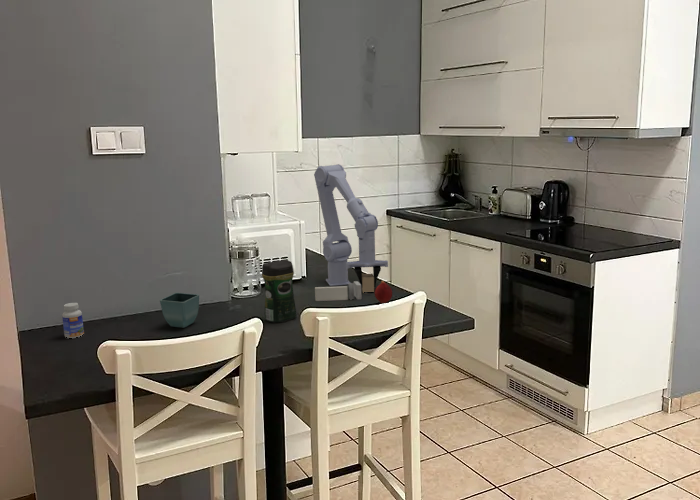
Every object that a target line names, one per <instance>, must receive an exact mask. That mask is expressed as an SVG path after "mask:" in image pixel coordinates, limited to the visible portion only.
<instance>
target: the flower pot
mask: <svg viewBox="0 0 700 500" xmlns="http://www.w3.org/2000/svg"><path fill="white" fill-rule="evenodd" d="M159 303H160V306H161V312H162V315H163V318H164V319H165V321H166V323H167V324H168V325H169V326H170V327H175V328H183V329H185V328H187V327H189V326H190V325H192V324H194V323H195V320H196V319H197V317H198V315H199V308H200V294H197V293H196V294H195V293H187V292H186V293H184V292H174V293H172V294H170V295H168V296H166V297H163V298H161V299H160V300H159Z"/></svg>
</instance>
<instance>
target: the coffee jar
mask: <svg viewBox="0 0 700 500" xmlns="http://www.w3.org/2000/svg"><path fill="white" fill-rule="evenodd" d="M294 274H295V272H294V265H293V263H292V261H290V260H287V259H281V260H274V261H269V262H265V263H263V264H262V266H261V277H262V279H263V282H264V319H265V320H266V321H267V322H269V323H284V322H287V321H290V320H293V319H296V318H297V308H296V301H295V295H294V289H293V278H294Z"/></svg>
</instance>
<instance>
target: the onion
mask: <svg viewBox="0 0 700 500" xmlns="http://www.w3.org/2000/svg"><path fill="white" fill-rule="evenodd" d="M374 297H375V299H376V300H377V301H378V302H379V303H380V304H382V303H385V304H386V303H388V302H389V301H390V300H391V299H392V298H393V290H392V287H391V286H390V285H389V284H388V283H386V282H385V281H384V280H381V281H380V283H379V285H376V287H375V289H374Z"/></svg>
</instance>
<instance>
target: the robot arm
mask: <svg viewBox="0 0 700 500" xmlns="http://www.w3.org/2000/svg"><path fill="white" fill-rule="evenodd" d="M313 175H314V180H315V185H316V190H317V193H318V194H317V195H318V198H319V203H320V208H321V213H322V217H323V223H324V226H325V231H326V237H325V238H324V240H323V241H322V254H323V256H324V258H325V260H326V261H327V277H328V278H325V281H326V283H327V284H328V285H329V287H337V286H348V284H349V283H351V281H350V280H349V272H348V269H353V268H354V272H355V274H356V276H357V278H358V282H359V283H360V284H361V289H362V274H363V273H362V272H363V270H362V268H372V274H373V276H374V288H377V281H378V277H379V275H380V273H381V271H382V268H383V267H384V268H388V267H389V261H388V260H387V259H386V260H384V259H383V260H381V259H379V260H377V259H376V237H375V235H376V233H375V232H376V230H377V229H378V227H379V221H378V219H377V216H376V215H374V214H373V213H371V212H369V210H368V209H367V207H366V206H365V205H364V202H363V200H362V199H361V198H357V197H356V196H355V194H354V191H353V190H352V188H351V186H350V184H349V182H348V181H347V172H346V171H345V168H344V166H343V165H341V164H340V163H338V164H333V165H332V164H331V165H319V166H317V167H316V169H315V172H314V174H313ZM335 189H337V190H338V192H339V193H340V194H341V196H342V198H343V199H344V200H345V202H346V203H347V204H346V208H347V211H348V212H349V214H350V215H351V217H352V218H353V220H354V222H355V223H354V224H353V225H354V228H355V229H354V230H355V231H356V236H357V238H358V260H355V261H354V260H353V261H348V260H349V259H350V257H351V255H352V245H351V244H350V241H349V238H348V236H346V234H344V233H343V232H342V229H341V225H340V220H339V215H338V210H337V206H336V203H335V202H336V201H335V197H334V190H335ZM381 267H382V268H381Z"/></svg>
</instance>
